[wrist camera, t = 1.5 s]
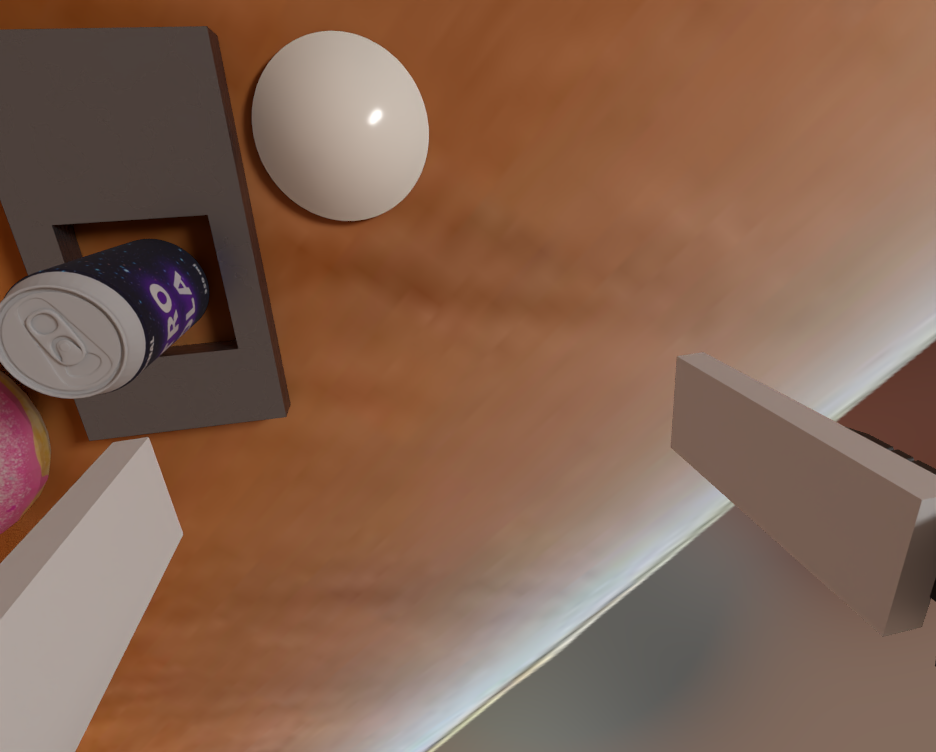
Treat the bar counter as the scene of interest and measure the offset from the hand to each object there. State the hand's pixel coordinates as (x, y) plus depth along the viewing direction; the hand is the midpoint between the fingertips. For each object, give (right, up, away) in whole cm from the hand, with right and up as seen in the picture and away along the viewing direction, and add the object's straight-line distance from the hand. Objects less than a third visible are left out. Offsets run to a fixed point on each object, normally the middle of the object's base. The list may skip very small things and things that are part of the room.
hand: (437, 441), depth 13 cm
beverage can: (-18, +7, +19) cm, 27 cm away
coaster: (-7, +16, +18) cm, 25 cm away
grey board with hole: (-18, +9, +18) cm, 27 cm away
